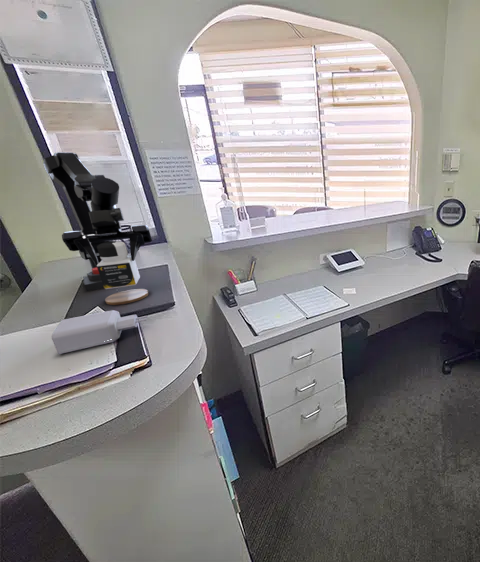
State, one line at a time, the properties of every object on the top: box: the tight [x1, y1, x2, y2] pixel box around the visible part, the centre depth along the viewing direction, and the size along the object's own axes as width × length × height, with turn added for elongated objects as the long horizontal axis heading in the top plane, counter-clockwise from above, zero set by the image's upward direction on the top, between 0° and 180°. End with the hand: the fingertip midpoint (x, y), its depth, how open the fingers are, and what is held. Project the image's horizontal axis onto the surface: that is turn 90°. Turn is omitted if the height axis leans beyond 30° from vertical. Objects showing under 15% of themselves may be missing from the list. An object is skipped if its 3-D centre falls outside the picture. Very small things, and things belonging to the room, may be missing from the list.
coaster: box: [104, 288, 150, 306], centre depth 90 cm, size 10×10×1 cm
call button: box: [91, 267, 99, 274], centre depth 99 cm, size 4×4×2 cm
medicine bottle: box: [97, 240, 141, 290], centre depth 86 cm, size 7×7×12 cm
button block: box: [82, 271, 105, 292], centre depth 100 cm, size 10×9×4 cm
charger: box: [51, 309, 148, 355], centre depth 69 cm, size 5×9×15 cm
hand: (115, 262), depth 85 cm, fingers closed on medicine bottle, 7 cm apart
